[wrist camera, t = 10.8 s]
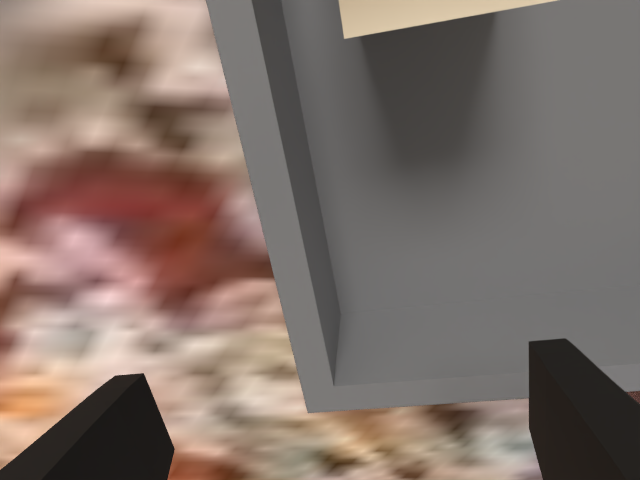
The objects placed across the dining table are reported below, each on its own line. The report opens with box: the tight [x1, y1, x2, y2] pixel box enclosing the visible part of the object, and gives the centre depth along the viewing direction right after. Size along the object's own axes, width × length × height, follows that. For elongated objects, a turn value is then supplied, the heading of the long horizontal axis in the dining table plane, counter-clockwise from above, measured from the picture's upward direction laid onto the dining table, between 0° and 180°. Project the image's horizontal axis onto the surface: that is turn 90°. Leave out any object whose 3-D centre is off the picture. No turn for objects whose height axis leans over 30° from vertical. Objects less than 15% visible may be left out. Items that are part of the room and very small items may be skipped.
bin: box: [206, 0, 640, 413], centre depth 14 cm, size 18×16×4 cm
